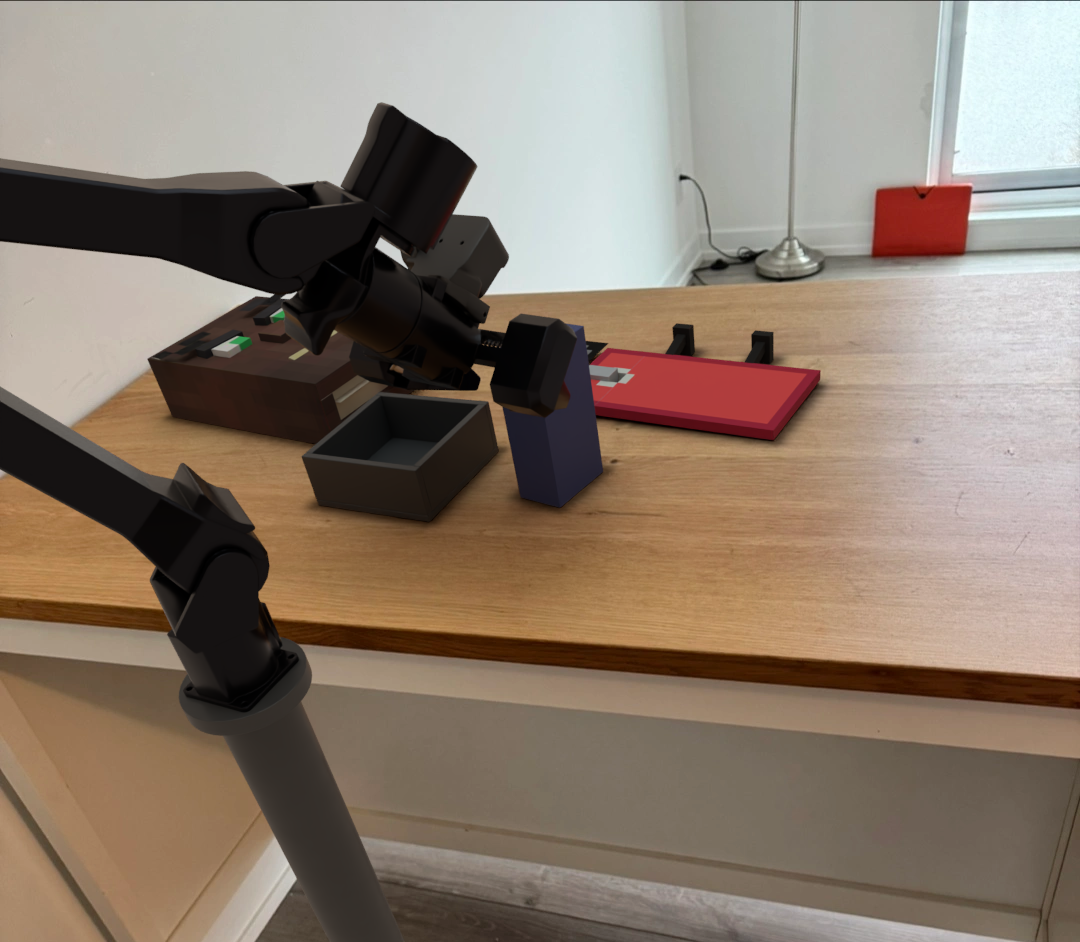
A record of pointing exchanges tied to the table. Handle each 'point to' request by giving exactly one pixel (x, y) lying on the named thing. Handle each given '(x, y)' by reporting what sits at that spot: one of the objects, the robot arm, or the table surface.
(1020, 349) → the table surface
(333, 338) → the decorative book
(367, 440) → the bin
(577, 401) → the block
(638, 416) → the red board with handle
